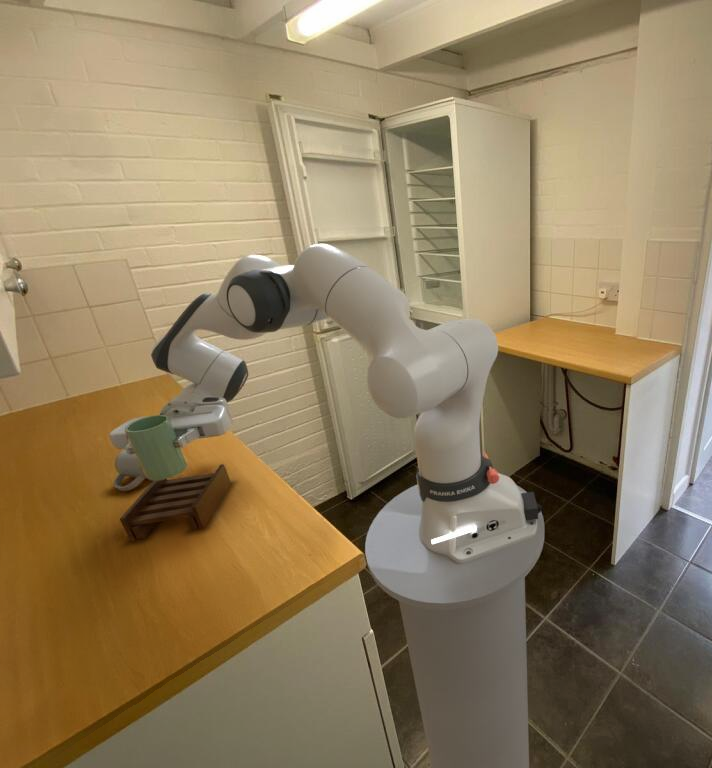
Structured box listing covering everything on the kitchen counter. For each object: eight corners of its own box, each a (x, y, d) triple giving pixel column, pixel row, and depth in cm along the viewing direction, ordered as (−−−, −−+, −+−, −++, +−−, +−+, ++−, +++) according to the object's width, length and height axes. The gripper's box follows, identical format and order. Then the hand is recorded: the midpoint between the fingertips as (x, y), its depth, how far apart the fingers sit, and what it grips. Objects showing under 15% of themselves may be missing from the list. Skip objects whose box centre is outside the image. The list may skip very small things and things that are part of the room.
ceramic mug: (147, 464, 104) (134, 438, 101) (177, 465, 104) (165, 439, 100) (106, 492, 95) (90, 464, 92) (138, 493, 94) (124, 465, 91)
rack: (231, 483, 96) (224, 463, 94) (204, 528, 83) (195, 506, 81) (169, 493, 94) (160, 473, 91) (130, 541, 80) (119, 519, 78)
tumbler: (193, 459, 88) (175, 413, 83) (178, 477, 82) (158, 429, 77) (157, 464, 86) (136, 417, 82) (139, 483, 80) (116, 434, 76)
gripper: (127, 408, 90) (84, 441, 77) (232, 396, 94) (207, 426, 82) (138, 434, 92) (98, 469, 80) (240, 421, 97) (217, 453, 84)
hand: (154, 447), depth 81 cm, fingers closed on tumbler, 6 cm apart
